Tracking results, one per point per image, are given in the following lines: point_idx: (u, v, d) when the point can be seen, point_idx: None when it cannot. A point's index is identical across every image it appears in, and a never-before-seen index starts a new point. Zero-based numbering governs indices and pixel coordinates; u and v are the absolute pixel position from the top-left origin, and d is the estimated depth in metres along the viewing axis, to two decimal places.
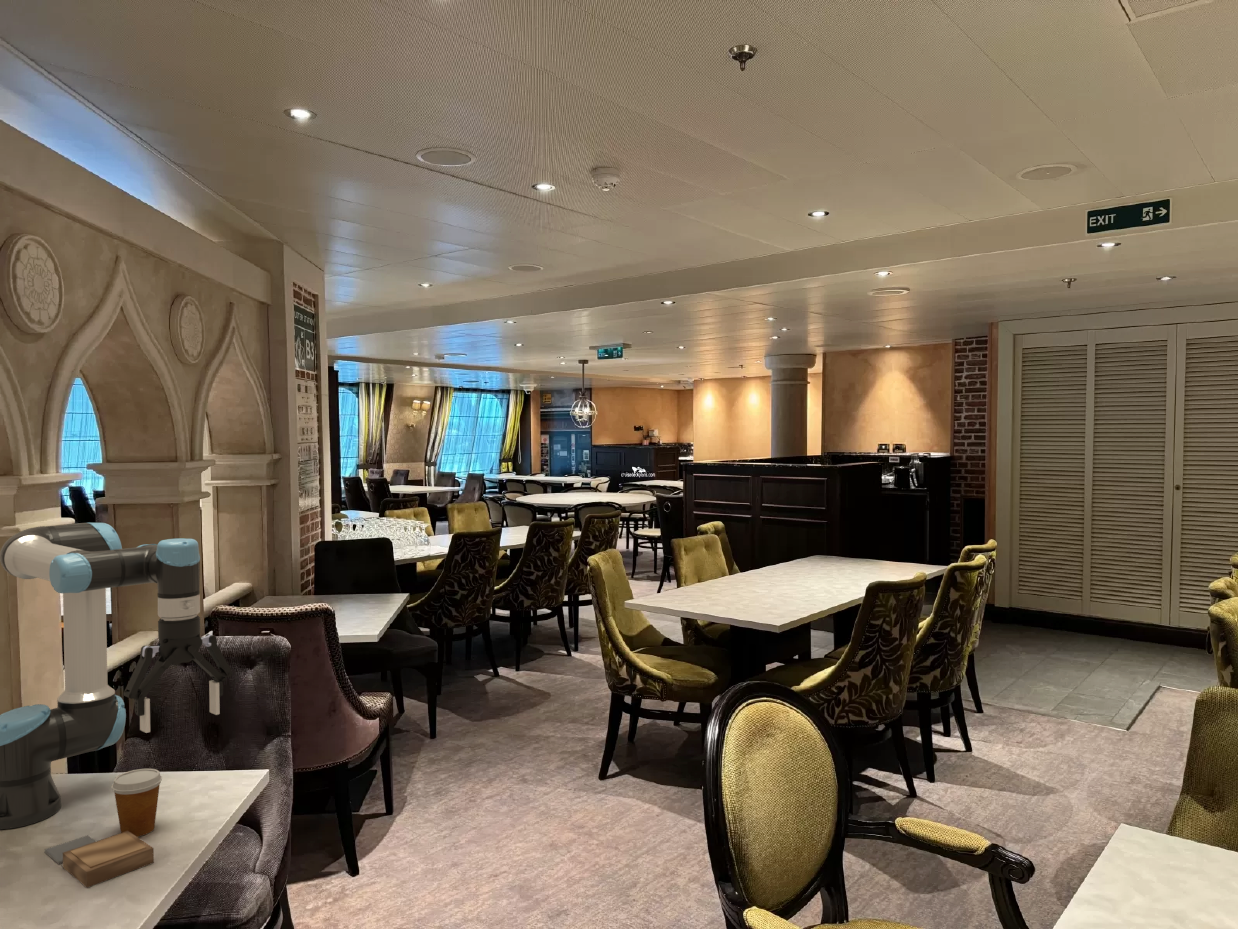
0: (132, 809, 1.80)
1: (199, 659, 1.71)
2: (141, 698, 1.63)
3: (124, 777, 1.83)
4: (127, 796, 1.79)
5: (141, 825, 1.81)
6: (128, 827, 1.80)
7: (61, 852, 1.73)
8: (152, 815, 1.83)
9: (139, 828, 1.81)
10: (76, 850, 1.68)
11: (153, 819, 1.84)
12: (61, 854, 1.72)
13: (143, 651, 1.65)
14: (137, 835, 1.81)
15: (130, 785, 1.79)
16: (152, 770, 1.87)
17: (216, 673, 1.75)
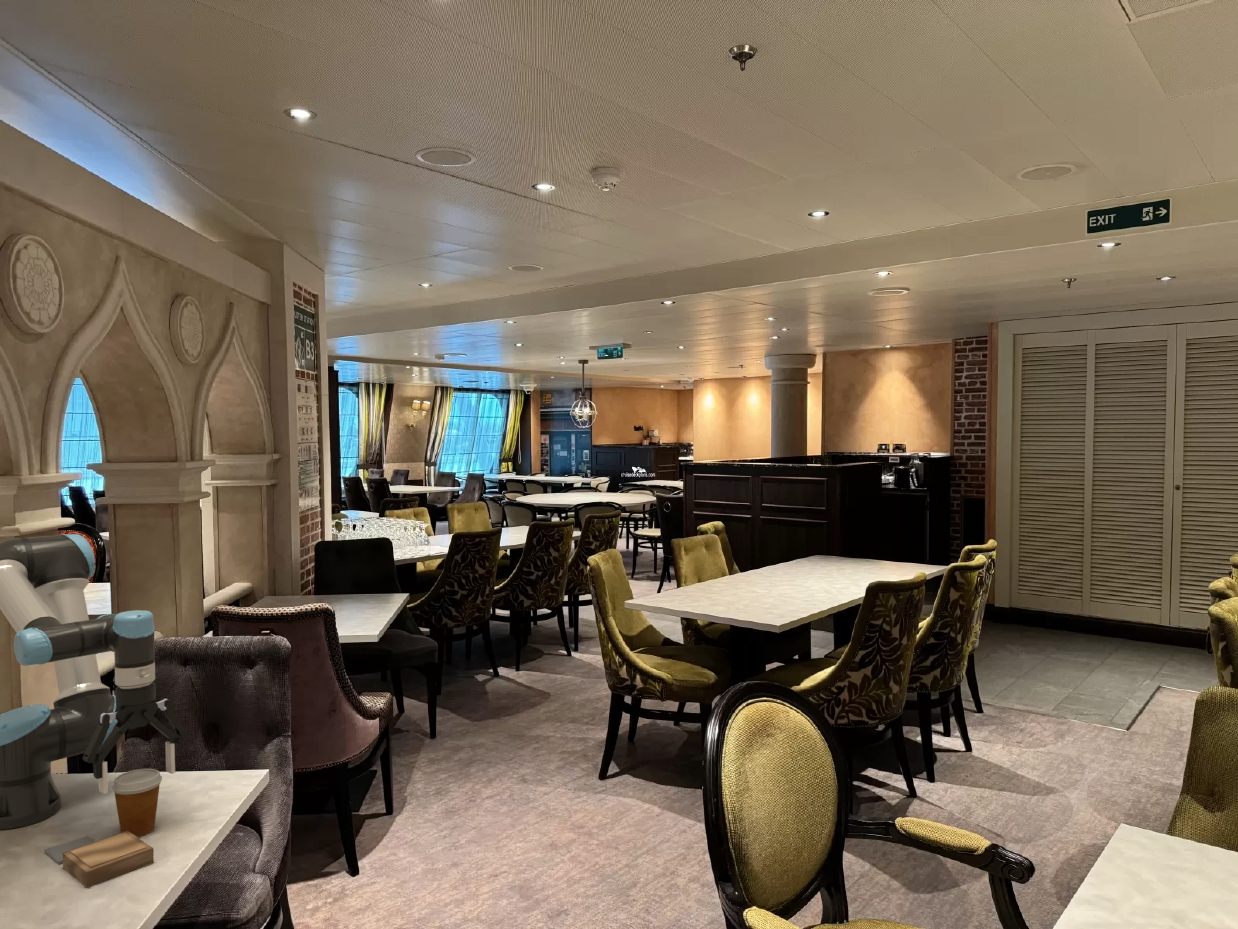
0: (132, 809, 1.80)
1: (155, 723, 1.84)
2: (99, 762, 1.76)
3: (124, 777, 1.83)
4: (127, 796, 1.79)
5: (141, 825, 1.81)
6: (128, 827, 1.80)
7: (61, 852, 1.73)
8: (152, 815, 1.83)
9: (139, 828, 1.81)
10: (76, 850, 1.68)
11: (153, 819, 1.84)
12: (61, 854, 1.72)
13: (101, 718, 1.77)
14: (137, 835, 1.81)
15: (130, 785, 1.79)
16: (152, 770, 1.87)
17: (172, 735, 1.87)
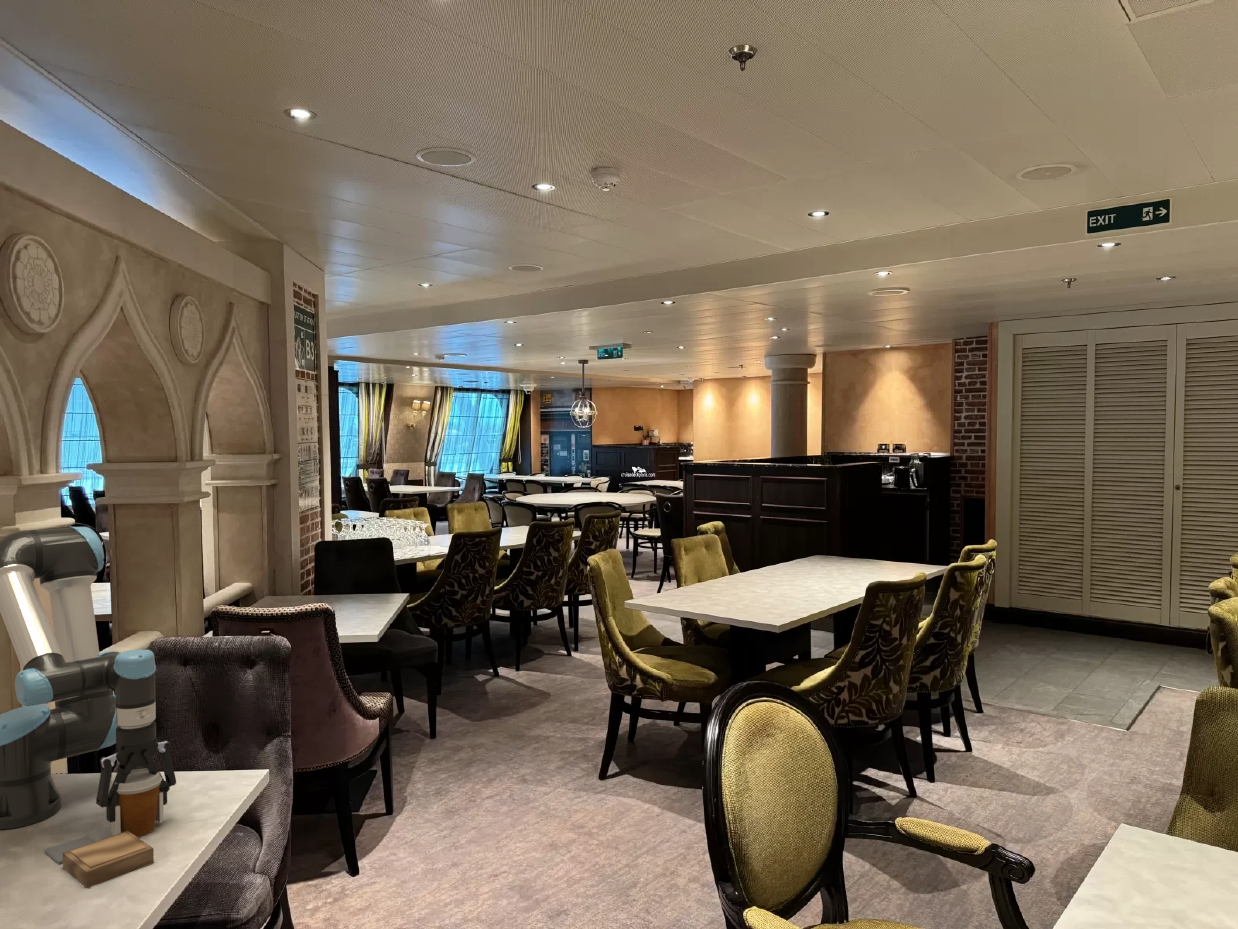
0: (132, 809, 1.80)
1: (151, 765, 1.84)
2: (112, 806, 1.78)
3: None
4: (127, 796, 1.79)
5: (141, 825, 1.81)
6: (128, 827, 1.80)
7: (61, 852, 1.73)
8: (152, 815, 1.83)
9: (140, 828, 1.81)
10: (76, 850, 1.68)
11: (153, 819, 1.84)
12: (61, 854, 1.72)
13: (102, 763, 1.78)
14: (137, 835, 1.81)
15: (130, 785, 1.79)
16: None
17: (162, 782, 1.86)
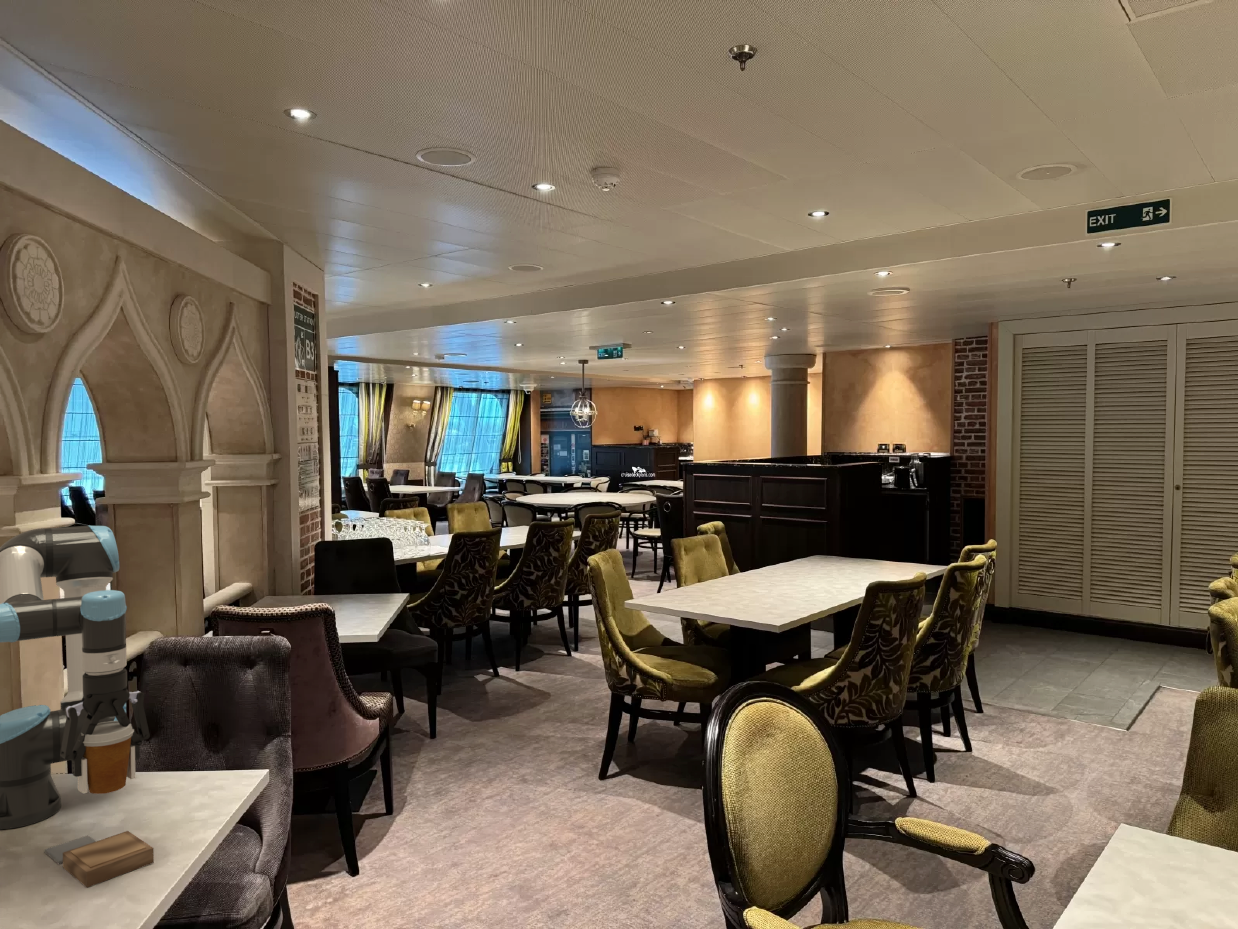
0: (101, 763, 1.64)
1: (121, 716, 1.69)
2: (78, 759, 1.63)
3: None
4: (95, 749, 1.64)
5: (111, 781, 1.66)
6: (96, 783, 1.65)
7: (61, 852, 1.73)
8: (123, 770, 1.68)
9: (109, 784, 1.66)
10: (76, 850, 1.68)
11: (124, 775, 1.68)
12: (61, 854, 1.72)
13: (67, 712, 1.63)
14: (106, 791, 1.66)
15: (98, 736, 1.64)
16: None
17: (134, 735, 1.71)
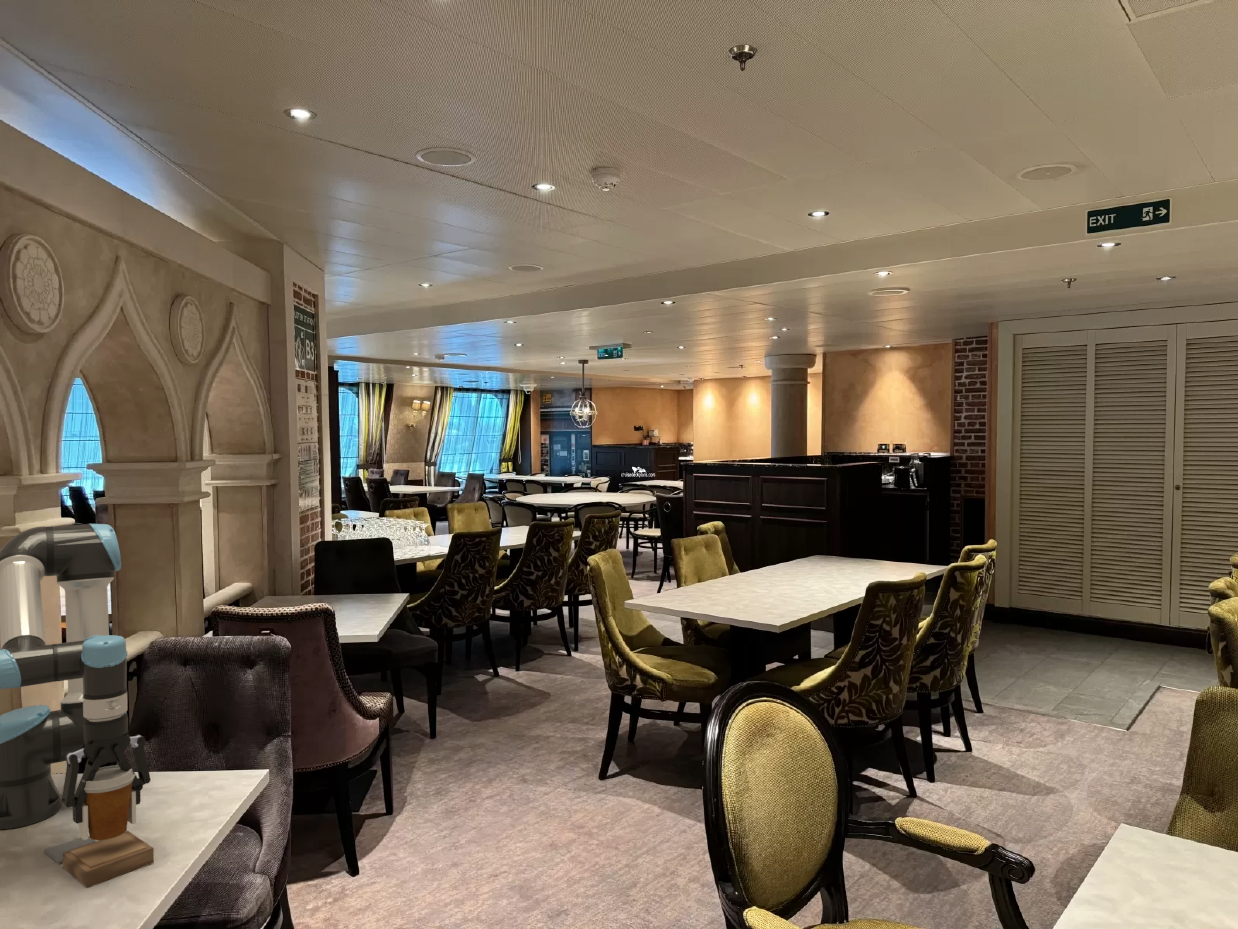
0: (101, 809, 1.65)
1: (122, 761, 1.69)
2: (79, 806, 1.63)
3: None
4: (96, 795, 1.64)
5: (112, 827, 1.66)
6: (97, 829, 1.65)
7: (61, 852, 1.73)
8: (124, 816, 1.68)
9: (109, 830, 1.66)
10: (76, 850, 1.68)
11: (125, 820, 1.69)
12: (61, 854, 1.72)
13: (68, 759, 1.63)
14: (107, 837, 1.66)
15: (99, 783, 1.64)
16: None
17: (135, 780, 1.71)
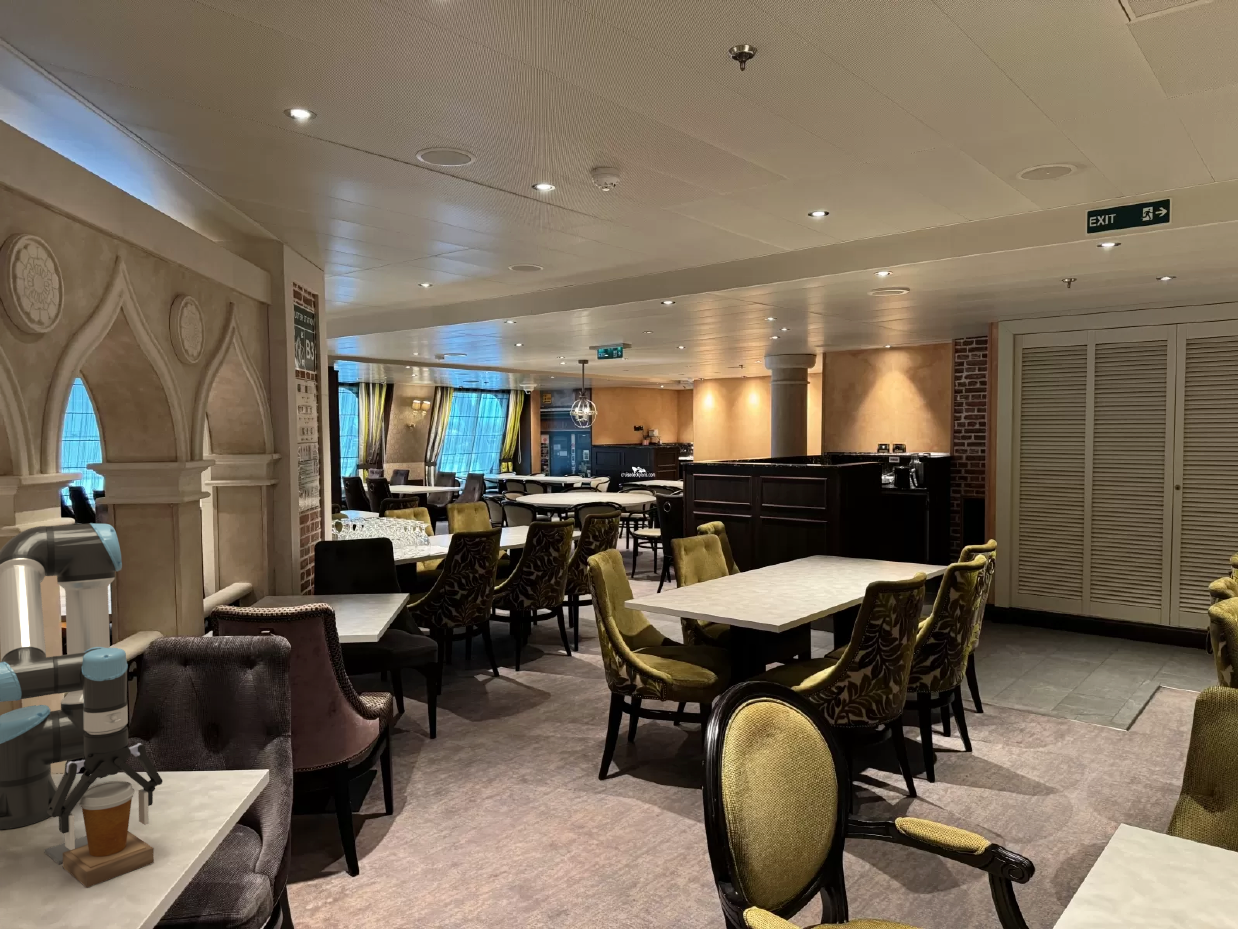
0: (101, 826, 1.65)
1: (126, 770, 1.70)
2: (65, 816, 1.62)
3: (92, 791, 1.68)
4: (96, 812, 1.64)
5: (111, 843, 1.66)
6: (97, 845, 1.65)
7: (61, 852, 1.73)
8: (123, 832, 1.68)
9: (109, 847, 1.66)
10: (76, 850, 1.68)
11: (124, 836, 1.69)
12: (61, 854, 1.72)
13: (67, 767, 1.63)
14: (106, 854, 1.66)
15: (99, 800, 1.64)
16: (124, 783, 1.72)
17: (145, 783, 1.73)
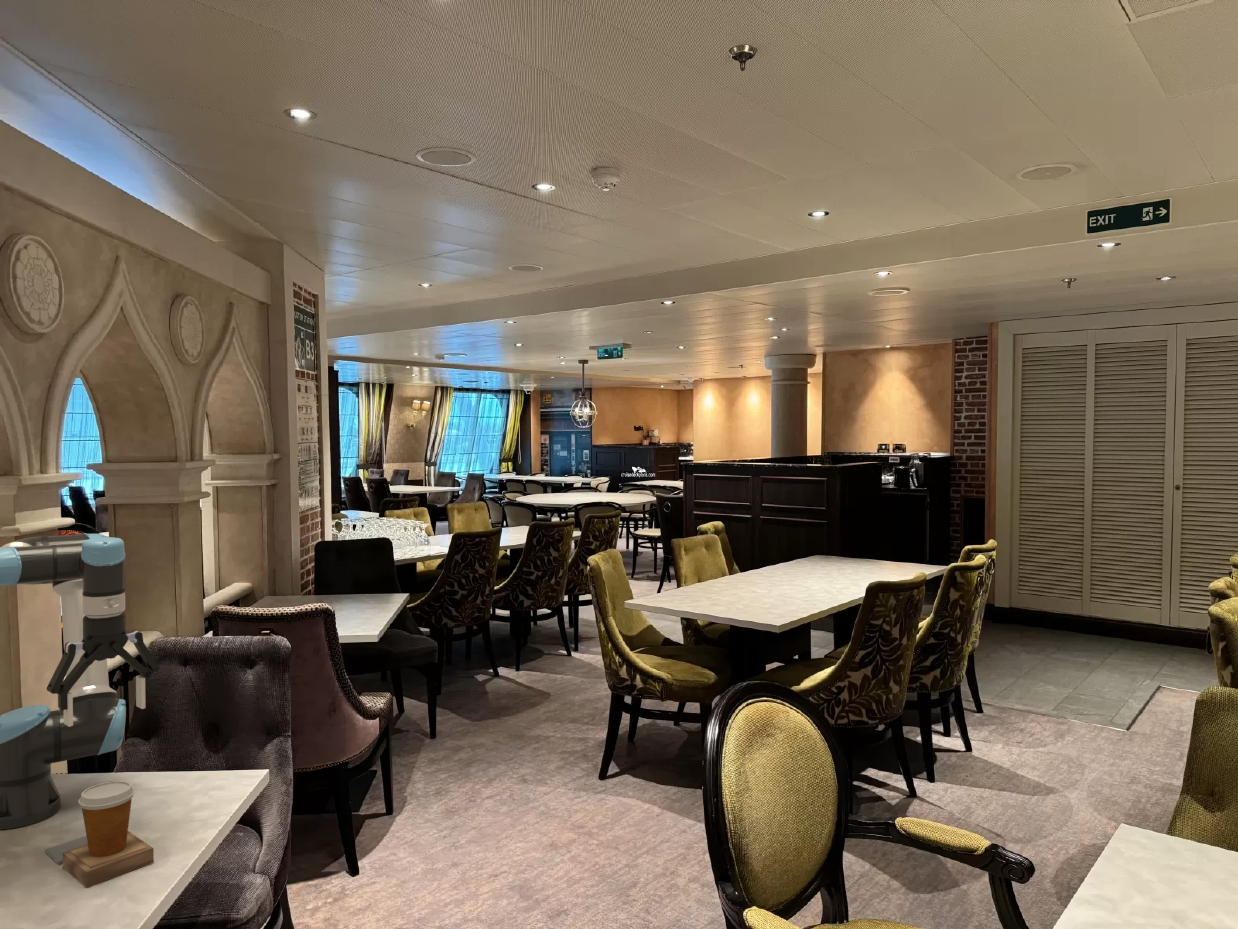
0: (101, 826, 1.65)
1: (124, 655, 1.76)
2: (64, 693, 1.68)
3: (92, 791, 1.69)
4: (95, 812, 1.64)
5: (111, 843, 1.66)
6: (97, 845, 1.65)
7: (61, 852, 1.73)
8: (123, 832, 1.68)
9: (109, 846, 1.66)
10: (76, 850, 1.68)
11: (124, 836, 1.69)
12: (61, 854, 1.72)
13: (66, 647, 1.69)
14: (106, 854, 1.66)
15: (98, 799, 1.64)
16: (124, 783, 1.72)
17: (142, 668, 1.79)
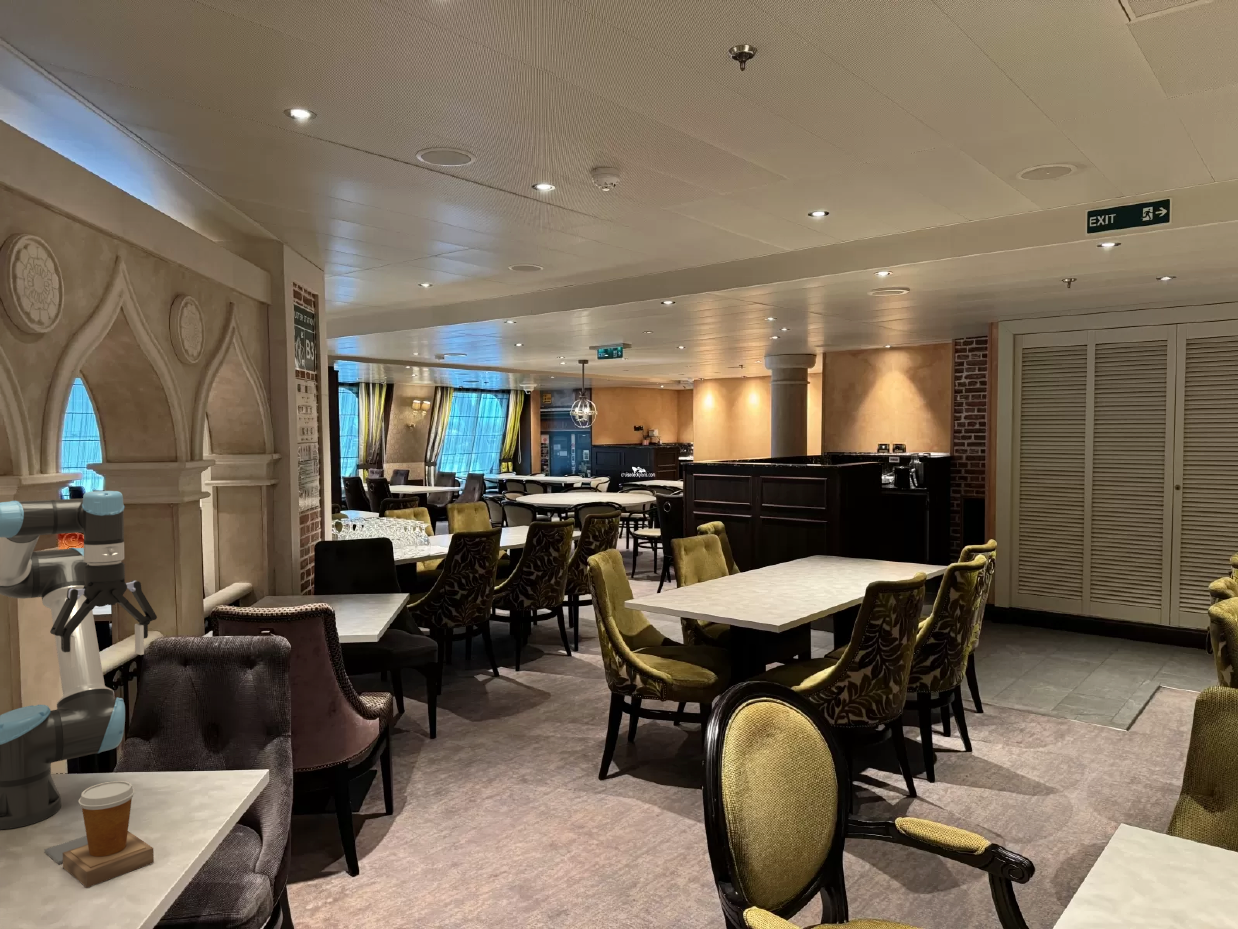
0: (101, 826, 1.65)
1: (123, 602, 1.85)
2: (66, 636, 1.77)
3: (92, 791, 1.69)
4: (96, 812, 1.64)
5: (111, 843, 1.66)
6: (97, 845, 1.65)
7: (61, 852, 1.73)
8: (123, 832, 1.68)
9: (109, 846, 1.66)
10: (76, 850, 1.68)
11: (124, 836, 1.69)
12: (61, 854, 1.72)
13: (69, 593, 1.79)
14: (106, 854, 1.66)
15: (99, 799, 1.64)
16: (124, 783, 1.72)
17: (141, 616, 1.89)
